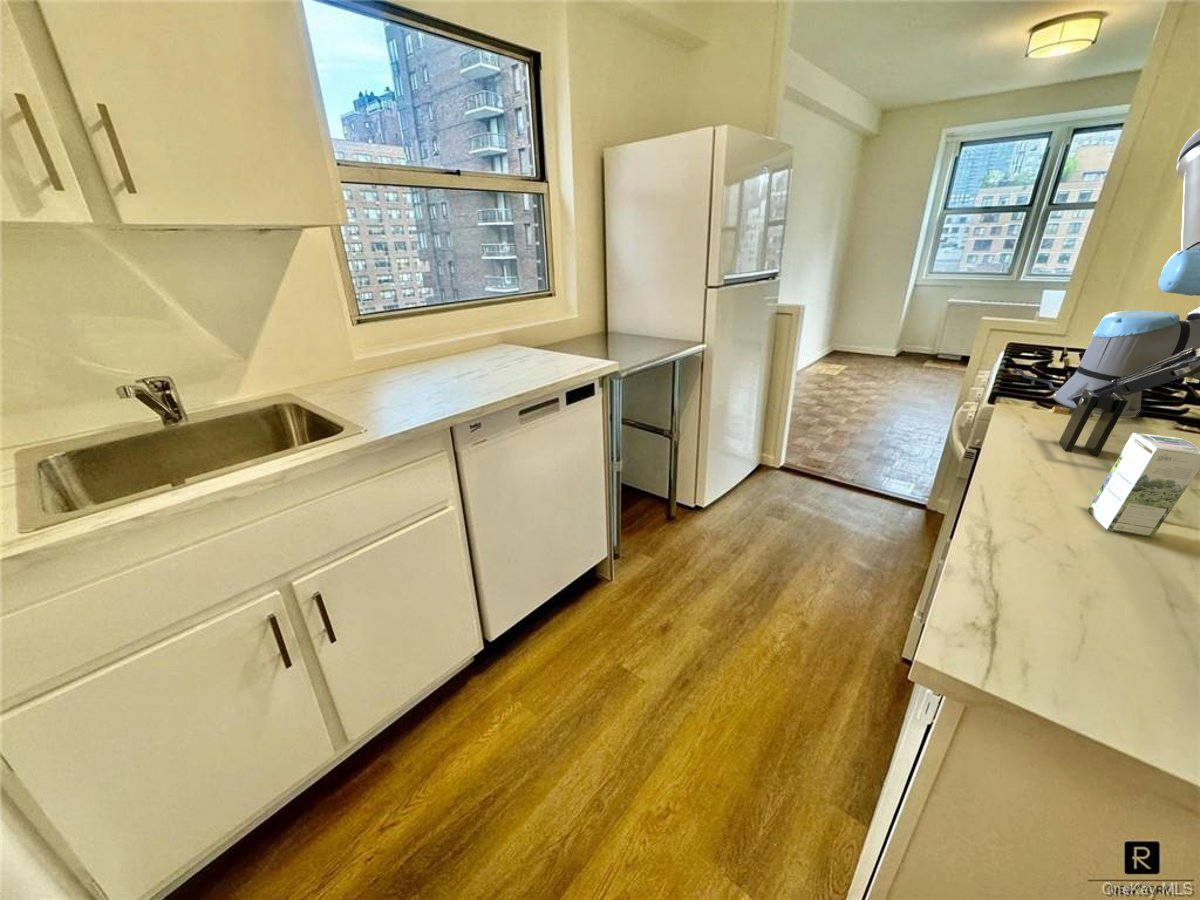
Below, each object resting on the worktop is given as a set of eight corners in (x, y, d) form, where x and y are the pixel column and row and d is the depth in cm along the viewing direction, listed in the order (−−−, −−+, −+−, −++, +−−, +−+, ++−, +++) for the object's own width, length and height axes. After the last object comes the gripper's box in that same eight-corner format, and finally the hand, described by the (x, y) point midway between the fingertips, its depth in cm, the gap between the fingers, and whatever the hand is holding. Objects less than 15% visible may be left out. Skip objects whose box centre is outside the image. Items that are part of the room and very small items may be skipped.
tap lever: (1050, 415, 104) (1052, 404, 104) (1086, 421, 101) (1089, 409, 101) (1082, 405, 91) (1086, 393, 91) (1125, 411, 88) (1128, 399, 88)
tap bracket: (1040, 440, 102) (1067, 383, 96) (1095, 450, 98) (1127, 390, 92) (1052, 460, 94) (1083, 399, 88) (1113, 471, 90) (1149, 408, 84)
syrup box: (1130, 517, 77) (1181, 435, 70) (1154, 539, 72) (1211, 453, 65) (1086, 510, 79) (1131, 430, 72) (1106, 531, 74) (1157, 447, 67)
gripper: (1267, 366, 78) (1082, 427, 97) (1261, 351, 86) (1091, 411, 104) (1236, 327, 79) (1060, 395, 98) (1233, 316, 87) (1070, 381, 106)
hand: (1076, 403), depth 101 cm, fingers closed
